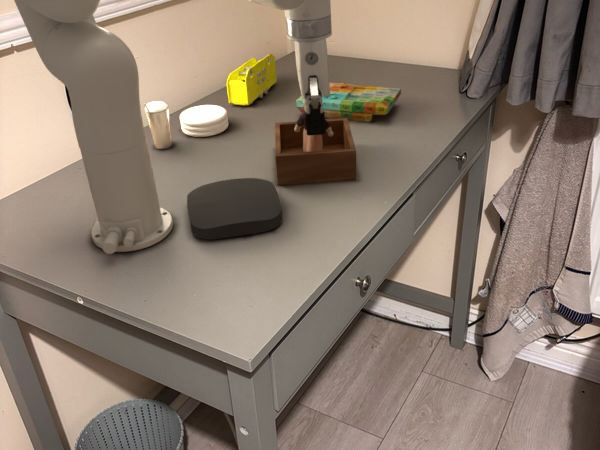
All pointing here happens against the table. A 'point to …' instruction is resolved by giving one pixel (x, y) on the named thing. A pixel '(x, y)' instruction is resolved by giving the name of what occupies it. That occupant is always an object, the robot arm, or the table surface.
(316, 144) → the grandmother figurine
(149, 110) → the milkshake
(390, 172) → the table surface
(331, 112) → the puzzle game
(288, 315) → the table surface
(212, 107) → the white short cylinder
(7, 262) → the table surface
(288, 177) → the crate
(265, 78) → the yellow toy chassis
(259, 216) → the media streaming box
